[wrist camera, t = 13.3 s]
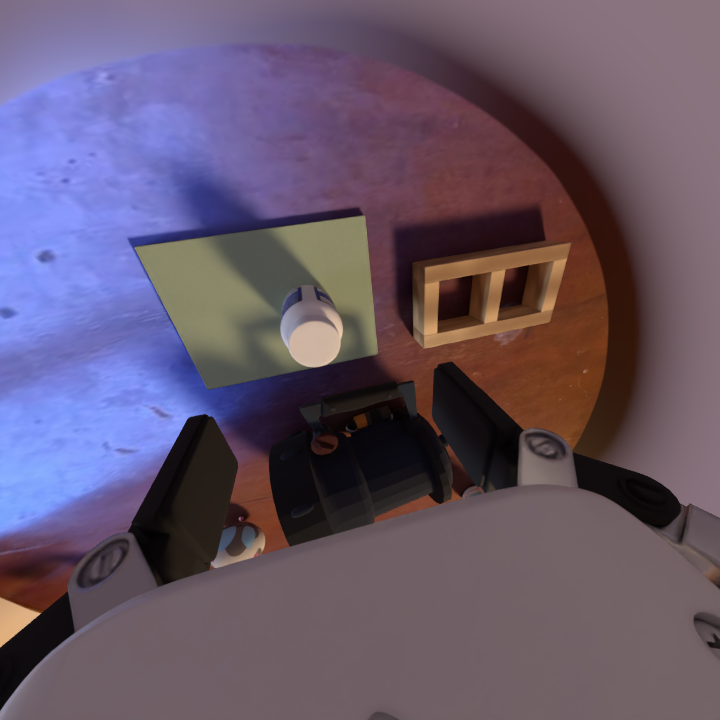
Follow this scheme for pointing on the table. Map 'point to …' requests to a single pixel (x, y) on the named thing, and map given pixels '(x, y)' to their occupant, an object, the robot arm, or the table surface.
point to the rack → (487, 291)
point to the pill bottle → (311, 326)
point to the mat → (261, 294)
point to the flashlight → (356, 464)
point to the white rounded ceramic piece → (239, 543)
